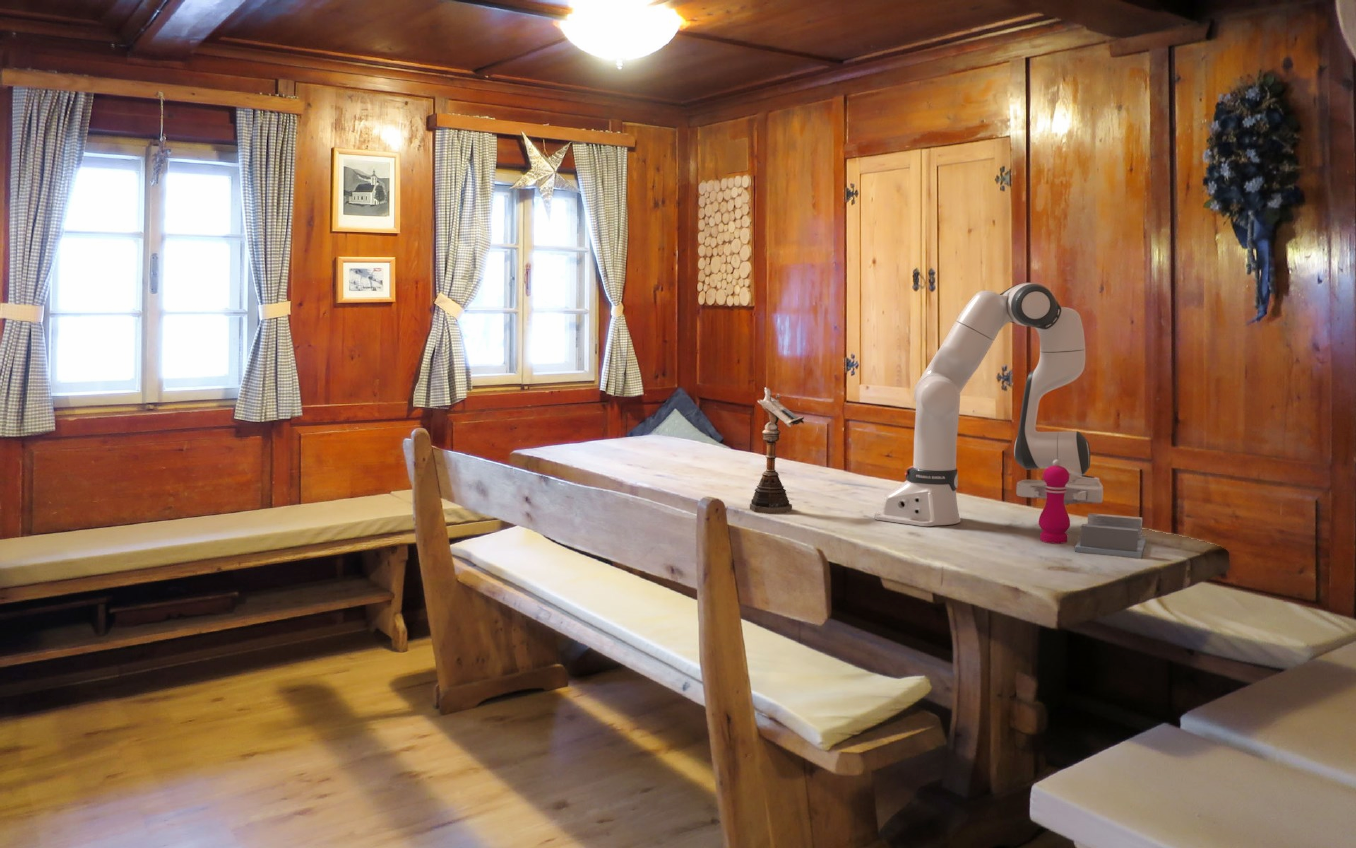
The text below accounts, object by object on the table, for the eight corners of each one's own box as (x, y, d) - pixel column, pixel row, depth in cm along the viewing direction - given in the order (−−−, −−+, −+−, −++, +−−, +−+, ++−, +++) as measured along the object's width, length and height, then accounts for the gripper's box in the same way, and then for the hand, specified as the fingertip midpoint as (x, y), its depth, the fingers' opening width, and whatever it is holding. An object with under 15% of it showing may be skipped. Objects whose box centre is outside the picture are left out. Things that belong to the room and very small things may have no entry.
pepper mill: (1038, 542, 245) (1041, 460, 243) (1037, 536, 252) (1040, 456, 250) (1070, 545, 243) (1073, 462, 241) (1068, 538, 250) (1071, 458, 248)
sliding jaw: (1087, 534, 249) (1087, 514, 249) (1088, 532, 251) (1088, 513, 251) (1140, 539, 244) (1141, 519, 243) (1141, 537, 246) (1142, 517, 245)
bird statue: (815, 508, 289) (817, 385, 285) (798, 516, 277) (800, 388, 274) (762, 503, 297) (763, 383, 293) (743, 511, 285) (744, 386, 282)
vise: (1074, 551, 236) (1076, 526, 236) (1084, 535, 253) (1085, 512, 253) (1141, 558, 230) (1142, 532, 229) (1145, 541, 247) (1147, 517, 246)
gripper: (1020, 472, 264) (1011, 479, 252) (1106, 478, 254) (1100, 486, 242) (1020, 496, 265) (1010, 504, 252) (1104, 503, 255) (1099, 512, 243)
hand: (1055, 495), depth 247 cm, fingers open, 8 cm apart
